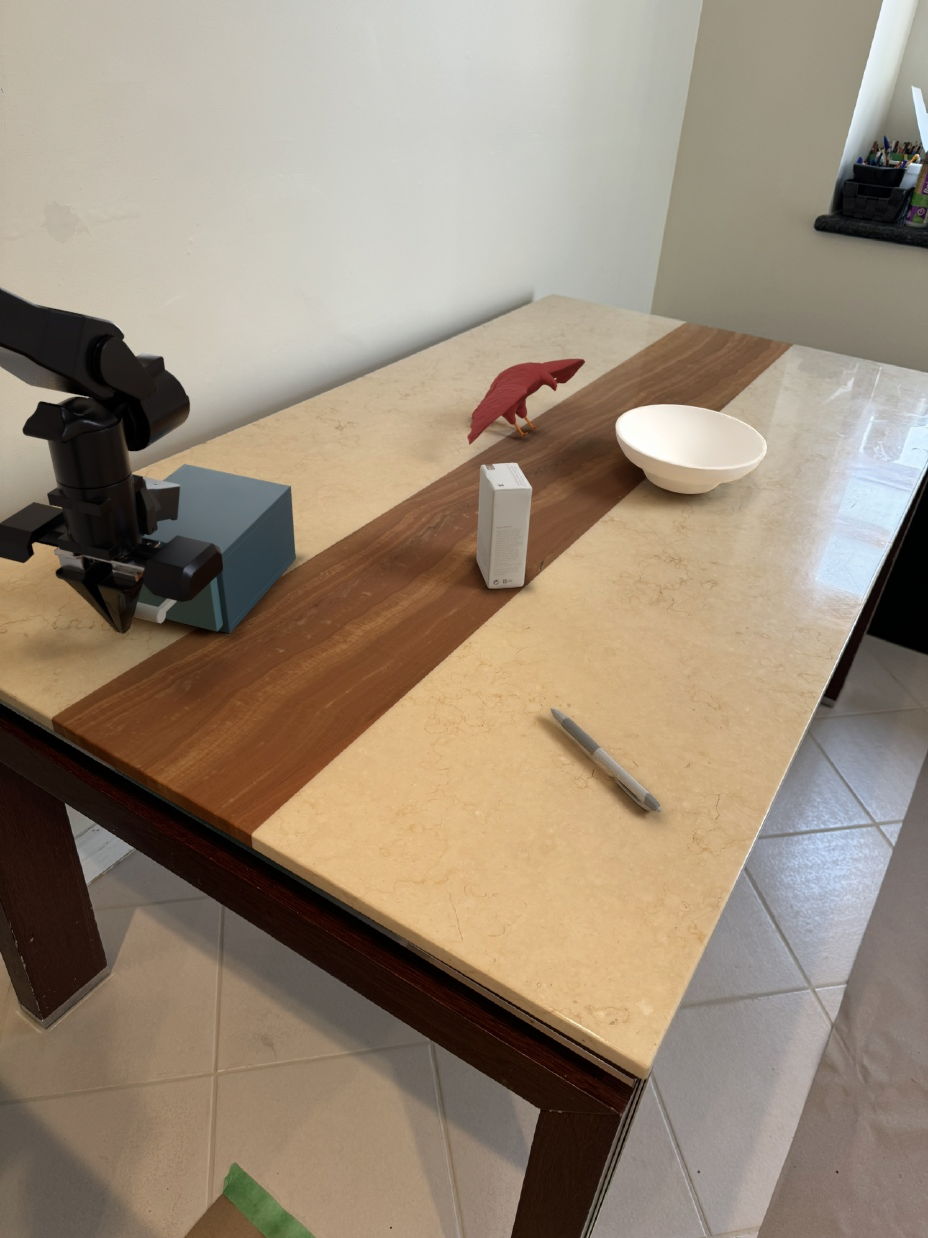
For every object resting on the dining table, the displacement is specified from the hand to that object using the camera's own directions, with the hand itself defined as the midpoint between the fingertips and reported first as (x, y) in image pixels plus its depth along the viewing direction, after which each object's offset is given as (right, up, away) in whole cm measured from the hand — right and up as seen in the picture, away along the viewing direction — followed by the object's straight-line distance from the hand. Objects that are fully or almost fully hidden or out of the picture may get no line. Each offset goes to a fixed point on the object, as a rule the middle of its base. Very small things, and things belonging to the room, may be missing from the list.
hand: (123, 630), depth 79 cm
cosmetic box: (+35, +6, +18) cm, 39 cm away
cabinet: (+4, +5, +13) cm, 15 cm away
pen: (+42, -11, -5) cm, 44 cm away
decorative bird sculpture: (+38, +28, +48) cm, 68 cm away
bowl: (+60, +19, +39) cm, 74 cm away
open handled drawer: (+3, +3, +10) cm, 11 cm away
